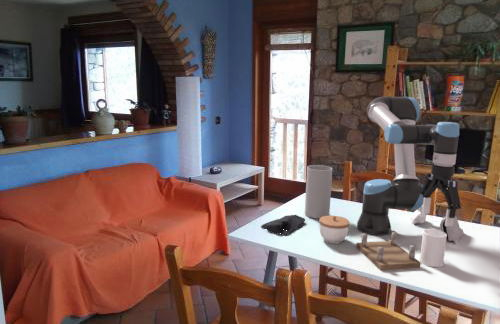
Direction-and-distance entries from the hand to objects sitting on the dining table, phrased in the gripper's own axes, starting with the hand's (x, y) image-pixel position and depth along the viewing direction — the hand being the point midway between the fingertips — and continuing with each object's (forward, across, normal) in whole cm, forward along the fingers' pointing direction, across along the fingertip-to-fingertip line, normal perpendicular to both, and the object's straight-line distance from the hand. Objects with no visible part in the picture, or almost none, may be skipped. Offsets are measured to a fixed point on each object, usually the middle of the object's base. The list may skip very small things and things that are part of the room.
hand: (436, 219), depth 144 cm
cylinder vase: (+16, -56, -27) cm, 64 cm away
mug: (+17, 0, 0) cm, 17 cm away
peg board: (+17, -6, -16) cm, 24 cm away
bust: (+17, -40, +20) cm, 47 cm away
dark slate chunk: (+17, -43, -47) cm, 66 cm away
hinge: (+17, -22, +24) cm, 37 cm away
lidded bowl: (+17, -24, -31) cm, 42 cm away
